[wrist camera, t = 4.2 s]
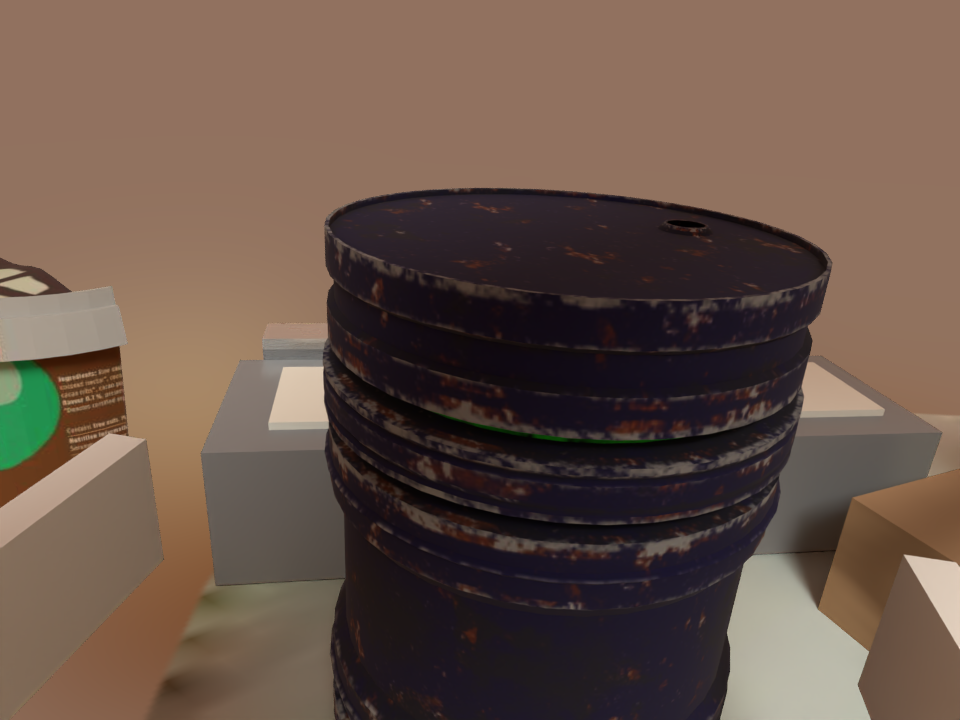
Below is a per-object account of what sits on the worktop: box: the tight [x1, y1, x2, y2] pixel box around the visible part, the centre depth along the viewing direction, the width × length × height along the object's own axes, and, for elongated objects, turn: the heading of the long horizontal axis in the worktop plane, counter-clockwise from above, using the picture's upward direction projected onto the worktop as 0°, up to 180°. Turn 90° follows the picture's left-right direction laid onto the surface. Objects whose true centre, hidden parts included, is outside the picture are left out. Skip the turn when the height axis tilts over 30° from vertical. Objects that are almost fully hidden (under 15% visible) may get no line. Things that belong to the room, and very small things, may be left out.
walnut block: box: [818, 469, 960, 651], centre depth 24 cm, size 5×6×5 cm
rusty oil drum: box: [323, 188, 832, 720], centre depth 17 cm, size 10×10×15 cm
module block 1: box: [201, 360, 345, 585], centre depth 28 cm, size 8×8×6 cm
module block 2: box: [753, 356, 942, 555], centre depth 32 cm, size 8×7×6 cm
